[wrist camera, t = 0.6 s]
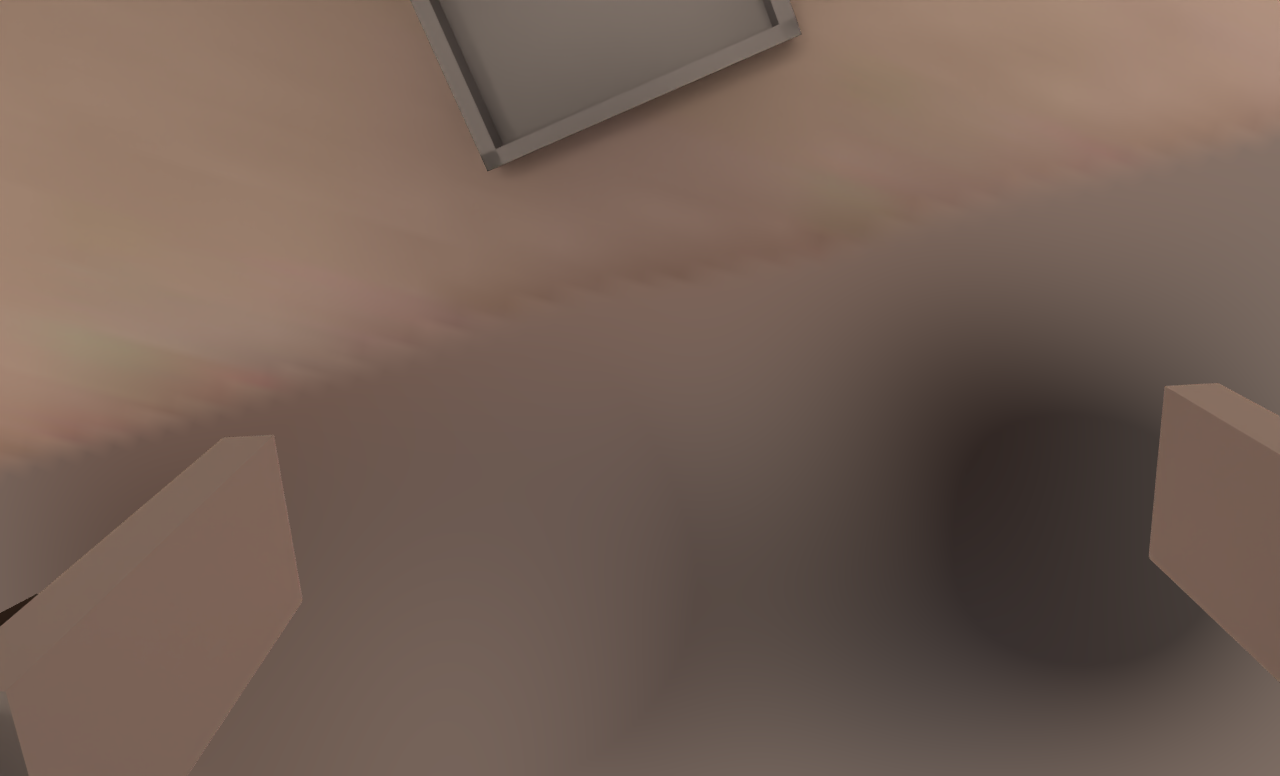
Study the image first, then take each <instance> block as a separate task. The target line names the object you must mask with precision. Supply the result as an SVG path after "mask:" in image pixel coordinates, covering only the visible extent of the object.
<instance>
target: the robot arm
mask: <svg viewBox="0 0 1280 776" xmlns="http://www.w3.org/2000/svg"><path fill="white" fill-rule="evenodd" d="M1161 422H1162V423H1161V432H1160V443H1159V454H1158V465H1157V475H1156V486H1155V497H1154V508H1153V518H1152V528H1151V539H1150V550H1149V558H1150V559H1151V560H1152V561H1153V562H1154V563H1155V564H1156V565H1157V566H1158V567H1159V568H1160V569H1161V570H1162V571H1163V572H1164V573H1166V575H1167V576H1169V577H1170V578H1171V579H1172V580H1173V581H1174V582H1175V583H1176V584H1177V585H1178V586H1179V587H1180V588H1181V589H1182V590H1183V591H1184V592H1185V593H1186V594H1188V596H1189V597H1191V598H1192V599H1193V600H1194V601H1195V602H1196V603H1197V604H1198V605H1199V606H1200V607H1201V608H1202V609H1203V610H1204V611H1205V612H1206V613H1207V614H1208V615H1209V616H1210V617H1212V619H1214V620H1215V621H1216V622H1217V623H1218V624H1219V625H1220V626H1221V627H1222V628H1223V629H1224V630H1225V631H1226V632H1227V633H1228V634H1229V635H1230V636H1231V637H1232V638H1233V639H1234V640H1236V641H1237V642H1238V643H1239V644H1240V645H1241V646H1242V647H1243V648H1244V649H1245V650H1246V651H1247V652H1248V653H1249V654H1250V655H1251V656H1252V657H1253V658H1254V659H1255V660H1256V661H1258V662H1259V663H1260V664H1261V665H1262V666H1263V667H1264V668H1265V669H1266V670H1267V671H1268V672H1269V673H1270V674H1271V675H1272V676H1273V677H1274V678H1275V679H1276V680H1278V682H1279V683H1280V416H1278V415H1277V414H1275V413H1273V412H1271V411H1269V410H1267V409H1265V408H1263V407H1261V406H1260V405H1258V404H1256V403H1254V402H1252V401H1250V400H1248V399H1247V398H1245V397H1243V396H1241V395H1239V394H1237V393H1235V392H1233V391H1232V390H1230V389H1228V388H1226V387H1224V386H1222V385H1220V384H1218V383H1213V384H1195V385H1176V386H1165V389H1164V400H1163V411H1162V421H1161ZM302 601H303V599H302V593H301V587H300V582H299V576H298V570H297V565H296V559H295V553H294V547H293V542H292V536H291V530H290V524H289V518H288V513H287V507H286V501H285V495H284V490H283V484H282V479H281V472H280V467H279V461H278V456H277V449H276V444H275V438H274V435H262V436H244V437H226V438H222V439H221V440H220V441H219V442H218V443H216V444H215V445H214V446H213V447H211V448H210V449H209V450H208V451H207V452H206V453H204V454H203V455H202V456H201V457H200V458H198V460H196V461H195V462H194V463H193V464H192V465H191V466H189V467H188V468H187V469H186V470H184V471H183V472H182V473H181V474H180V475H178V476H177V477H176V478H175V479H174V480H173V481H171V482H170V483H169V484H168V485H167V486H166V487H164V488H163V489H162V490H161V491H160V492H158V493H157V494H156V495H155V496H154V497H152V498H151V499H150V500H149V501H148V502H147V503H145V504H144V505H143V506H142V507H141V508H140V509H139V510H137V511H136V512H135V513H134V514H132V515H131V516H130V517H129V518H128V519H127V520H126V521H124V522H123V523H122V524H121V525H120V526H118V527H117V528H116V529H115V530H114V531H113V532H111V533H110V534H109V535H108V536H107V537H105V538H104V539H103V540H102V541H101V542H99V543H98V544H97V545H96V546H95V547H93V548H92V549H91V550H90V551H89V552H88V553H86V554H85V555H84V556H83V557H82V558H81V559H80V560H78V561H77V562H76V563H75V564H73V565H72V566H71V567H70V568H69V569H68V570H66V571H65V572H64V573H63V574H62V575H60V577H58V578H57V579H56V580H55V581H53V582H52V583H51V584H50V585H49V586H47V587H46V588H45V589H44V590H43V591H42V592H40V594H36V595H34V596H32V597H30V598H28V599H26V600H24V601H23V602H20V603H19V604H17V605H15V606H13V607H11V608H9V609H7V610H5V611H3V612H1V613H0V776H187V775H188V774H189V772H190V771H191V769H192V768H193V766H194V765H195V763H196V762H197V760H198V759H199V757H200V756H201V754H202V753H203V751H204V750H205V748H206V747H207V745H208V744H209V742H210V740H211V739H212V738H213V736H214V734H215V733H216V731H217V730H218V728H219V727H220V725H221V724H222V722H223V721H224V719H225V718H226V716H227V715H228V713H229V711H230V710H231V709H232V707H233V706H234V704H235V703H236V701H237V700H238V698H239V697H240V695H241V693H242V692H243V690H244V689H245V687H246V686H247V684H248V683H249V681H250V680H251V678H252V676H253V675H254V674H255V672H256V671H257V669H258V668H259V666H260V665H261V663H262V662H263V660H264V659H265V657H266V656H267V654H268V653H269V651H270V650H271V648H272V647H273V645H274V643H275V642H276V640H277V639H278V637H279V636H280V634H281V633H282V631H283V630H284V628H285V627H286V625H287V624H288V622H289V621H290V619H291V618H292V616H293V615H294V613H295V612H296V610H297V609H298V607H299V606H300V604H301V602H302Z"/></svg>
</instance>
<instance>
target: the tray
mask: <svg viewBox="0 0 1280 776" xmlns="http://www.w3.org/2000/svg"><path fill="white" fill-rule="evenodd" d="M410 1H411V3H412V5H413V7H414V10H415V12H416V14H417V16H418V19H419V21H420V23H421V25H422V27H423V30H424V32H425V34H426V36H427V38H428V41H429V43H430V45H431V47H432V49H433V52H434V54H435V56H436V58H437V61H438V63H439V65H440V67H441V69H442V72H443V74H444V76H445V78H446V80H447V83H448V85H449V87H450V89H451V92H452V94H453V96H454V98H455V100H456V103H457V105H458V107H459V109H460V111H461V114H462V116H463V118H464V120H465V122H466V125H467V127H468V129H469V131H470V134H471V136H472V138H473V140H474V142H475V145H476V147H477V149H478V151H479V153H480V156H481V158H482V160H483V162H484V165H485V167H486V169H487V171H490V170H492V169H494V168H497V167H499V166H501V165H503V164H506V163H508V162H510V161H513V160H515V159H517V158H519V157H522V156H524V155H526V154H529V153H531V152H533V151H535V150H538V149H540V148H542V147H545V146H547V145H549V144H551V143H554V142H556V141H558V140H561V139H563V138H565V137H567V136H570V135H572V134H574V133H577V132H579V131H581V130H584V129H586V128H588V127H590V126H593V125H595V124H597V123H600V122H602V121H604V120H606V119H609V118H611V117H613V116H616V115H618V114H620V113H622V112H625V111H627V110H629V109H632V108H634V107H636V106H638V105H641V104H643V103H645V102H648V101H650V100H652V99H654V98H657V97H659V96H661V95H664V94H666V93H668V92H670V91H673V90H675V89H677V88H680V87H682V86H684V85H686V84H689V83H691V82H693V81H696V80H698V79H700V78H702V77H705V76H707V75H709V74H712V73H714V72H716V71H718V70H721V69H723V68H725V67H728V66H730V65H732V64H735V63H737V62H739V61H741V60H744V59H746V58H748V57H751V56H753V55H755V54H757V53H760V52H762V51H764V50H767V49H769V48H771V47H773V46H776V45H778V44H780V43H783V42H785V41H787V40H789V39H792V38H794V37H796V36H799V35H801V31H800V28H799V25H798V22H797V20H796V17H795V14H794V11H793V8H792V6H791V3H790V0H410Z"/></svg>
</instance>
